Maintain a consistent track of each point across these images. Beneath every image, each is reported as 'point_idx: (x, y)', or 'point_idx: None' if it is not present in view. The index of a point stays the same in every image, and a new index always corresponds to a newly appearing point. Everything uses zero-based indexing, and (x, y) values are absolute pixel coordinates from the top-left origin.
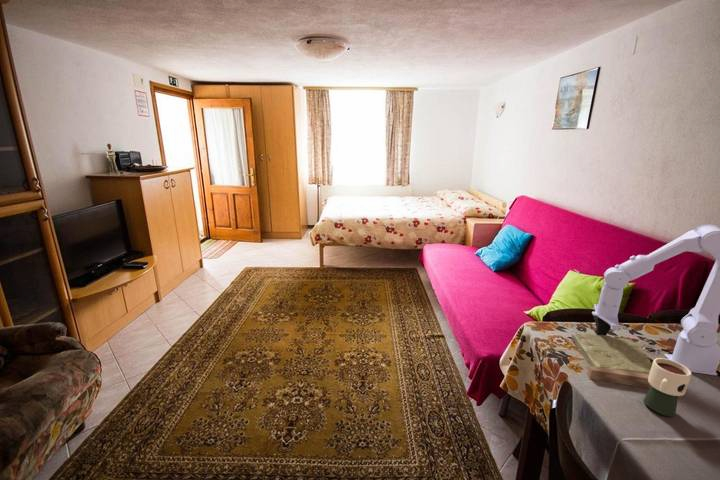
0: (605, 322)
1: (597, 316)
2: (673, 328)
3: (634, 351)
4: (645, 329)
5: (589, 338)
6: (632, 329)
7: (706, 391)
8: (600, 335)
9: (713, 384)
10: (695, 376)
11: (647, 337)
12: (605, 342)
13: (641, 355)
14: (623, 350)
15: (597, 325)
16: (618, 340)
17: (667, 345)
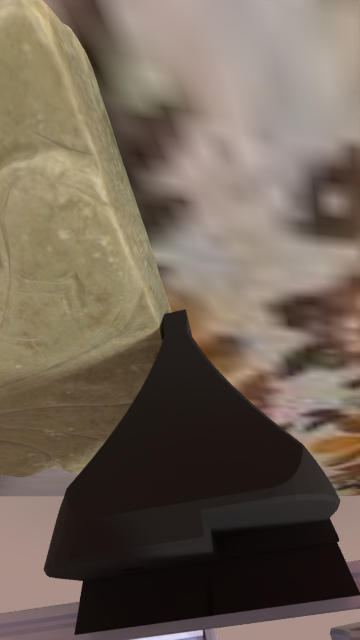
0: (86, 582)
1: (327, 517)
2: (352, 468)
3: (54, 454)
4: (345, 437)
5: (7, 255)
6: (343, 416)
7: (30, 491)
8: (148, 346)
9: None
10: None
11: None
12: (43, 366)
13: (42, 464)
14: (20, 427)
15: (163, 403)
16: None
17: None
